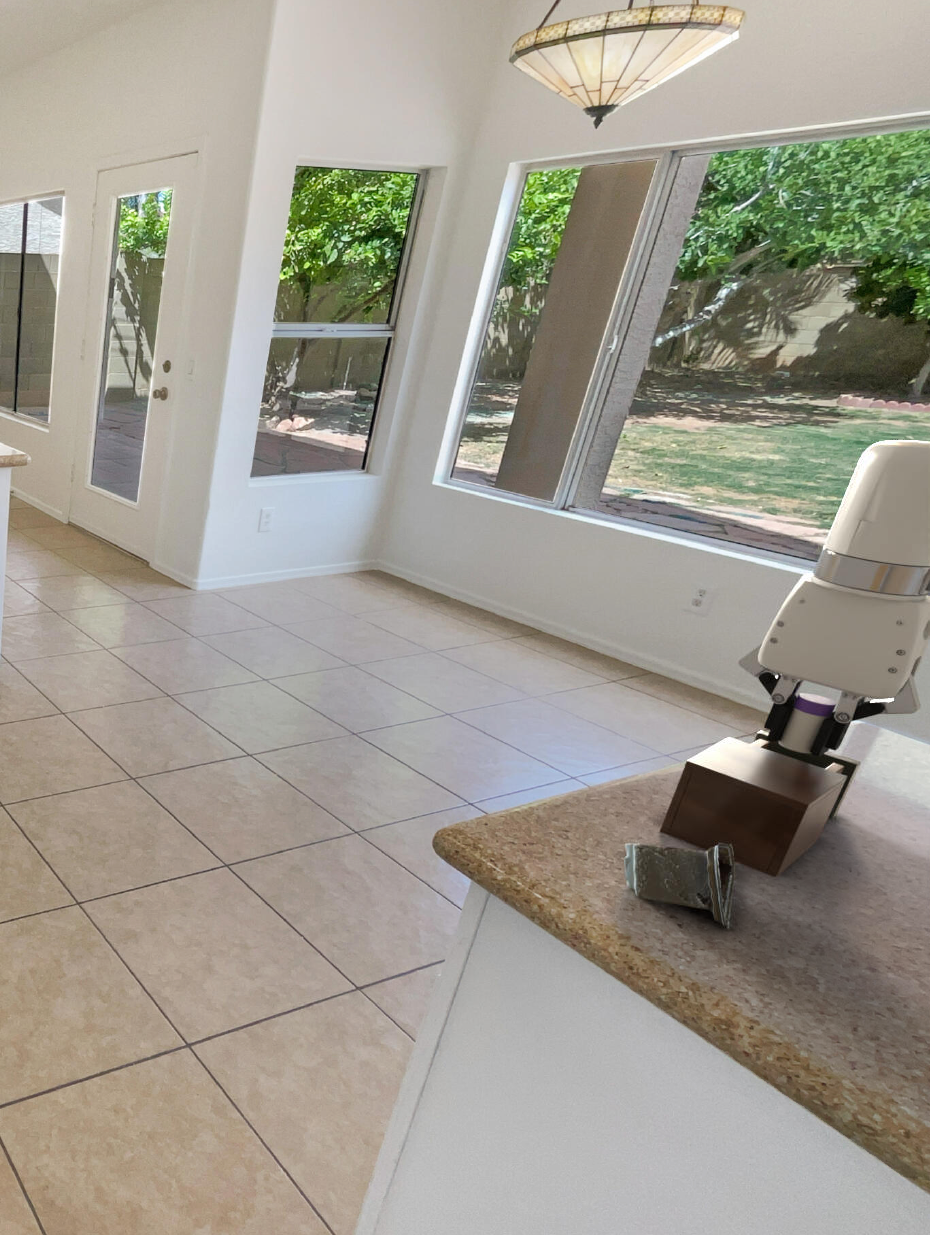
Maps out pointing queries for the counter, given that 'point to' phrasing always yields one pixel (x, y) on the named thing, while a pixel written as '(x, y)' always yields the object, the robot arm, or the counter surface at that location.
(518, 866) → the counter surface
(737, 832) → the cabinet
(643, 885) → the squashed foil tin
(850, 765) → the drawer
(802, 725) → the glue stick
